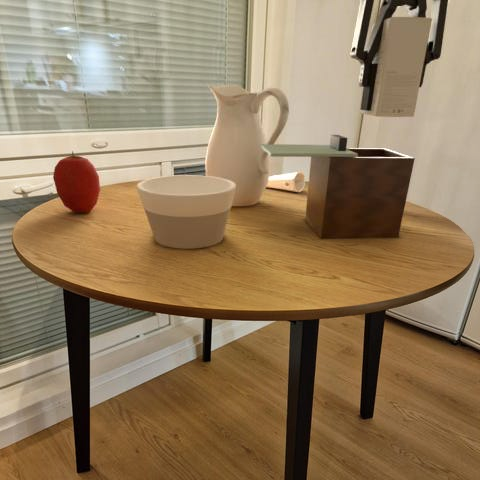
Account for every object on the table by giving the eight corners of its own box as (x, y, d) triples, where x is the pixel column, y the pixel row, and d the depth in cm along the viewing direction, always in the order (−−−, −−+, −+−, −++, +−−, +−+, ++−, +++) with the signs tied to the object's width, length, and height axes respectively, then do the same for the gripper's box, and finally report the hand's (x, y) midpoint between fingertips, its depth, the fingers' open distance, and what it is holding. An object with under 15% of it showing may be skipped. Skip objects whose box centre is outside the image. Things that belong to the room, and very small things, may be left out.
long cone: (256, 186, 141) (305, 189, 129) (243, 191, 137) (294, 194, 125) (254, 168, 138) (304, 169, 126) (241, 173, 134) (292, 174, 122)
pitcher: (193, 200, 115) (189, 83, 102) (239, 192, 125) (241, 84, 112) (253, 219, 100) (258, 85, 86) (300, 208, 110) (311, 86, 96)
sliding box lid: (336, 147, 93) (338, 133, 92) (357, 157, 82) (360, 140, 80) (260, 147, 92) (261, 132, 90) (270, 156, 80) (271, 139, 79)
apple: (58, 208, 106) (47, 148, 99) (100, 205, 109) (92, 147, 102) (61, 219, 97) (48, 155, 91) (106, 215, 101) (97, 153, 94)
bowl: (156, 222, 97) (153, 173, 92) (240, 226, 95) (241, 176, 90) (128, 250, 80) (121, 192, 75) (228, 256, 79) (229, 197, 73)
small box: (414, 117, 67) (433, 17, 61) (375, 117, 67) (390, 16, 60) (394, 114, 74) (409, 24, 68) (358, 114, 74) (371, 23, 67)
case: (373, 218, 103) (386, 148, 95) (398, 237, 91) (414, 158, 83) (305, 219, 101) (311, 147, 93) (321, 238, 89) (330, 157, 81)
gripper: (465, -64, 63) (429, 109, 74) (340, -71, 61) (322, 108, 72) (498, -80, 57) (453, 112, 68) (359, -89, 54) (336, 111, 66)
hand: (386, 110), depth 70 cm, fingers closed on small box, 6 cm apart
